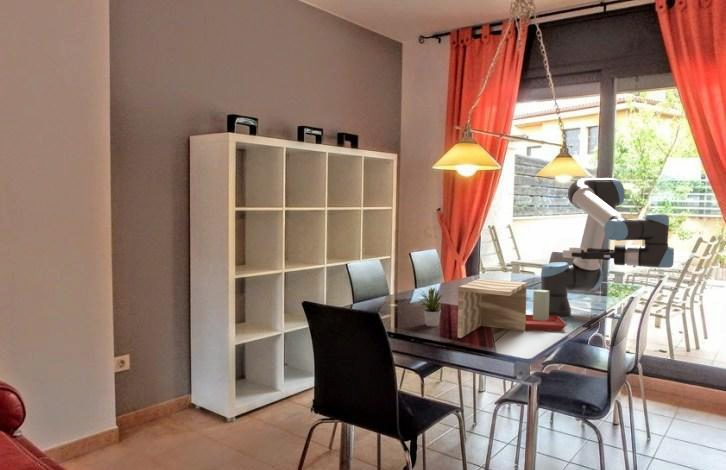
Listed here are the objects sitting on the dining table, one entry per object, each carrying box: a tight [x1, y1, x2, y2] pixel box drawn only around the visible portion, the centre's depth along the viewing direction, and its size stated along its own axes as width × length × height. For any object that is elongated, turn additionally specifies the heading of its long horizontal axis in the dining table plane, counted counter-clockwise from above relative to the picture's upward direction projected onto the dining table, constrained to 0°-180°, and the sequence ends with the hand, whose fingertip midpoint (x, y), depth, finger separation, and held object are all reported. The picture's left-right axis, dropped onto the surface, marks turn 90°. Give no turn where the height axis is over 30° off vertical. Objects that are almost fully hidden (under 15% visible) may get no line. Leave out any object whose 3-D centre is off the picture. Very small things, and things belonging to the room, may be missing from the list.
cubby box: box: [457, 278, 528, 339], centre depth 210 cm, size 24×20×20 cm
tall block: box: [532, 289, 549, 321], centre depth 223 cm, size 5×5×12 cm
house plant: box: [417, 286, 444, 327], centre depth 225 cm, size 14×14×16 cm
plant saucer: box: [525, 314, 567, 332], centre depth 224 cm, size 18×18×3 cm
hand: (566, 252), depth 211 cm, fingers open, 13 cm apart
